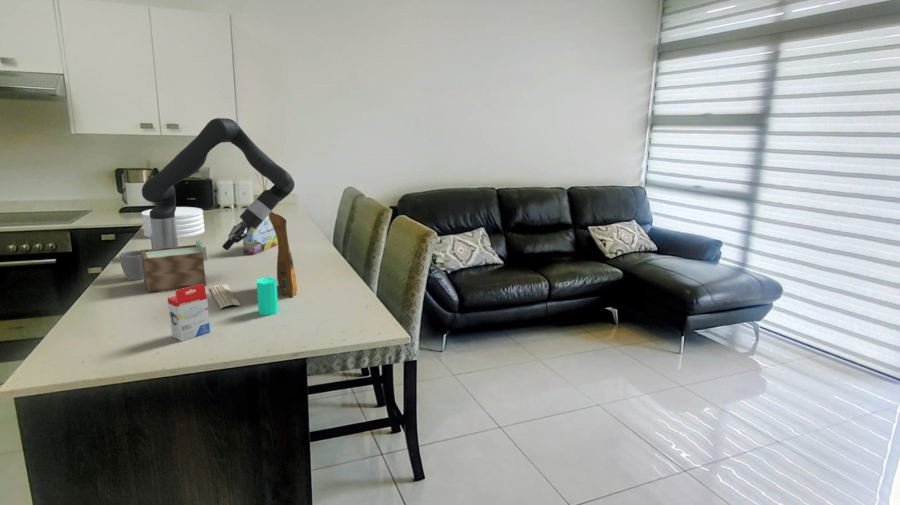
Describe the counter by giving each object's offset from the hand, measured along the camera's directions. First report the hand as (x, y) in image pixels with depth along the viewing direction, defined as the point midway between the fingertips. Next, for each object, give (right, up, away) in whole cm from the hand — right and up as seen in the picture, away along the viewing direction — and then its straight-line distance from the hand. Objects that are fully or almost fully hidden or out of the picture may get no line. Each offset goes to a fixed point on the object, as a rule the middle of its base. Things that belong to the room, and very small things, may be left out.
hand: (224, 248), depth 188 cm
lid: (-14, -4, -8) cm, 16 cm away
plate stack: (-59, +9, +73) cm, 95 cm away
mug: (-33, -11, -1) cm, 35 cm away
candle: (+28, -20, -30) cm, 46 cm away
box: (-15, -13, -7) cm, 21 cm away
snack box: (-3, 0, +46) cm, 46 cm away
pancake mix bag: (+26, -15, -10) cm, 32 cm away
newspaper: (+9, -18, -18) cm, 27 cm away
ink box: (+13, -25, -49) cm, 56 cm away
